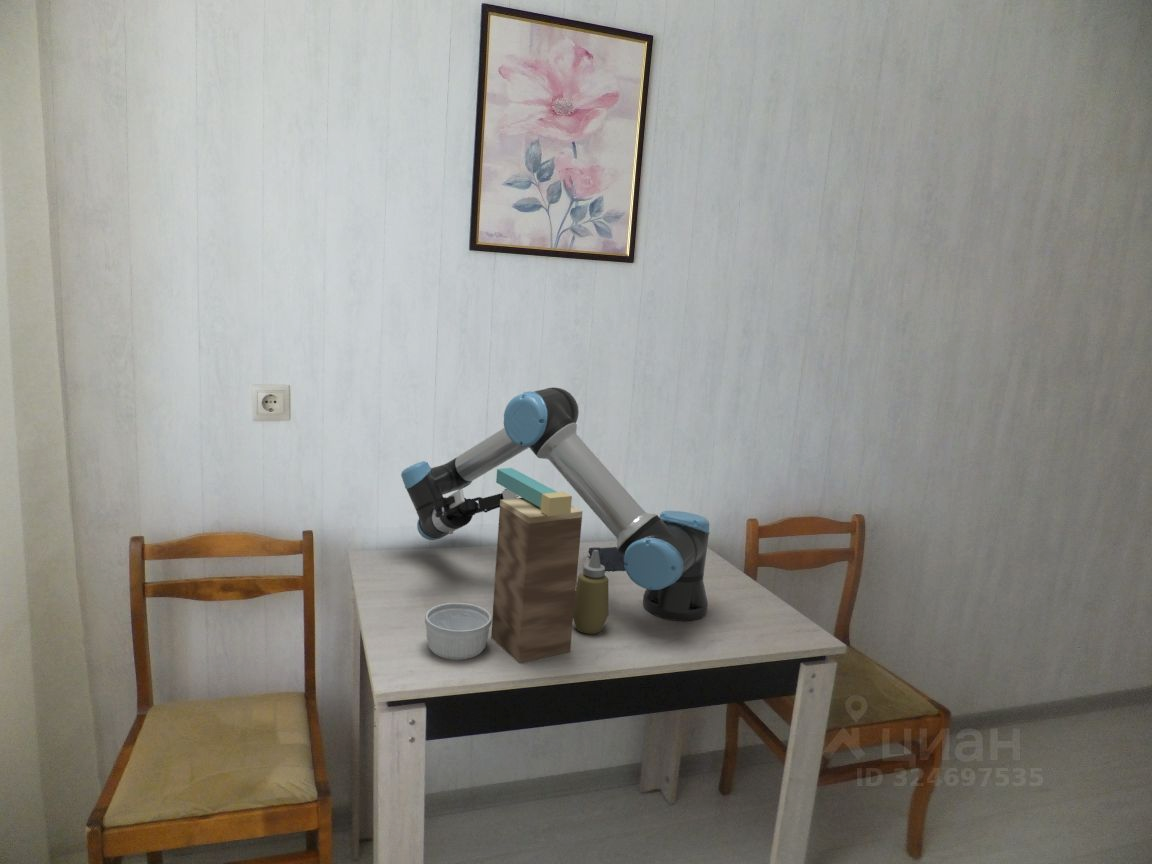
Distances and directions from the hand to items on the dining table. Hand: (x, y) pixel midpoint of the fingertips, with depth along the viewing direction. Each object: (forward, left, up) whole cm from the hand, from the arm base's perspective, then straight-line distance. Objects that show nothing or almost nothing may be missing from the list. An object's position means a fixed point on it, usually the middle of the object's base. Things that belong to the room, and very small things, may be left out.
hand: (490, 492), depth 185 cm
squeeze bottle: (-25, +3, -27) cm, 37 cm away
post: (-15, +15, -26) cm, 34 cm away
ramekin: (-2, +22, -27) cm, 35 cm away
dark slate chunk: (-27, -43, -27) cm, 58 cm away
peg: (-12, +12, +4) cm, 17 cm away
